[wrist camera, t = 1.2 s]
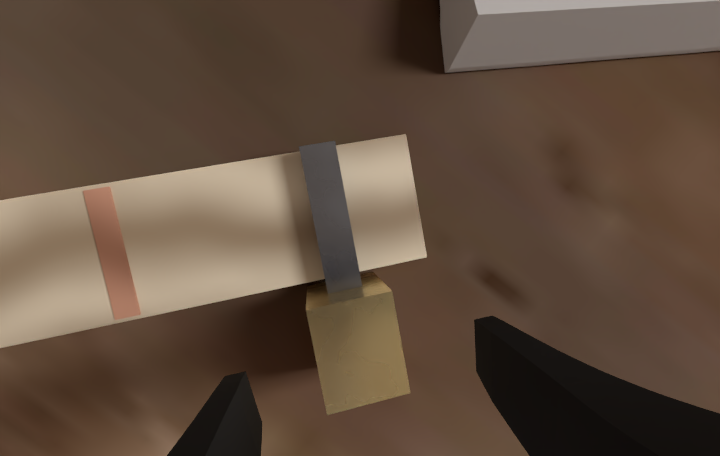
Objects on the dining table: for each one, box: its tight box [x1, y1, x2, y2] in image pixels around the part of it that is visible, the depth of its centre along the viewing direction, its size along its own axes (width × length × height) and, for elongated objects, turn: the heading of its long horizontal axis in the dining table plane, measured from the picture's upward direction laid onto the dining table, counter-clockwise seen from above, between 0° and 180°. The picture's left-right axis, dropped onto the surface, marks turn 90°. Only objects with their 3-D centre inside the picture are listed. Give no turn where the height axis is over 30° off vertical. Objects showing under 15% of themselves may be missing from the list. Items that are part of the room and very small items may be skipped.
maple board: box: [0, 134, 427, 348], centre depth 18 cm, size 7×28×2 cm, turn 101°
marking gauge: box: [299, 141, 410, 415], centre depth 18 cm, size 12×4×5 cm, turn 11°
